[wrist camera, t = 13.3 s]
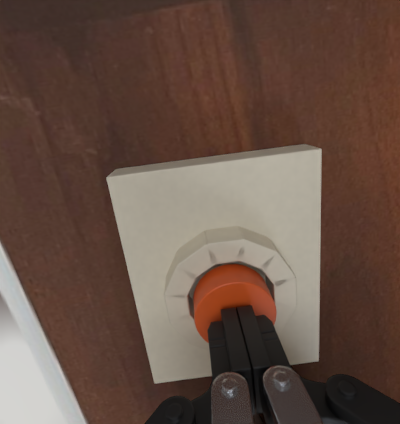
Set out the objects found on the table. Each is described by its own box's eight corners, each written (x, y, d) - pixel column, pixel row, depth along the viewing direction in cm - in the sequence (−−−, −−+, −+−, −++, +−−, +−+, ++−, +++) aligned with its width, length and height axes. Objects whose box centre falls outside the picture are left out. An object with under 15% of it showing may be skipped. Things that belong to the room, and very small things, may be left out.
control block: (115, 168, 17) (95, 185, 13) (305, 143, 17) (339, 153, 13) (157, 357, 22) (151, 410, 18) (306, 337, 22) (332, 385, 18)
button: (188, 269, 15) (189, 288, 14) (265, 258, 15) (275, 276, 14) (198, 331, 17) (199, 355, 15) (269, 321, 17) (278, 345, 15)
